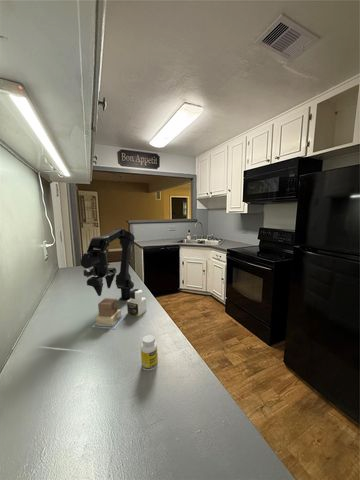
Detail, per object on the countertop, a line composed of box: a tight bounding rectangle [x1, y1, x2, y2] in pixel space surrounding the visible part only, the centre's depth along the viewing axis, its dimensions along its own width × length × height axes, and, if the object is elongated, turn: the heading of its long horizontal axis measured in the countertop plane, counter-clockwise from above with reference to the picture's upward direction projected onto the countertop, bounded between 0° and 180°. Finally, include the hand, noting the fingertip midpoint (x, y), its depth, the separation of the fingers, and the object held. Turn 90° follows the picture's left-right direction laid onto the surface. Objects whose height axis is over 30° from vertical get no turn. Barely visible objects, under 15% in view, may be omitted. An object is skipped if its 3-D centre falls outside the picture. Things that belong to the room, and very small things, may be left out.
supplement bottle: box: [140, 334, 159, 371], centre depth 67 cm, size 5×5×10 cm
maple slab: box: [95, 309, 122, 327], centre depth 95 cm, size 8×8×4 cm
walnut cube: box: [97, 297, 119, 317], centre depth 94 cm, size 6×6×6 cm
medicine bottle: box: [126, 288, 148, 317], centre depth 103 cm, size 7×7×12 cm
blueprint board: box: [90, 314, 127, 330], centre depth 95 cm, size 12×12×1 cm
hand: (104, 291), depth 102 cm, fingers open, 9 cm apart
